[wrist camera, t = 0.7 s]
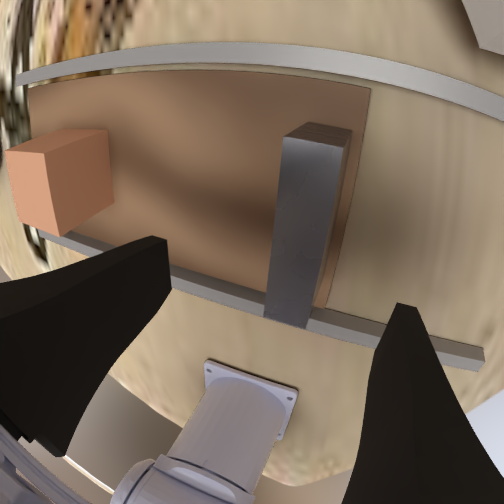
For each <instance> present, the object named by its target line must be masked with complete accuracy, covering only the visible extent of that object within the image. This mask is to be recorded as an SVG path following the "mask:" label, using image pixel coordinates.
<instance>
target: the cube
mask: <svg viewBox="0 0 504 504" xmlns="http://www.w3.org/2000/svg"><path fill="white" fill-rule="evenodd" d="M5 156H6V162H7V168H8V173H9V178H10V183H11V188H12V193H13V197H14V202H15V206H16V210H17V214H18V218H19V221H20V222H23V223H25V224H28V225H30V226H32V227H35V228H37V229H40V230H42V231H45V232H47V233H50V234H52V235H55V236H57V237H61V236H63V235H64V234H66V233H67V232H69V231H70V230H72V229H73V228H75V227H76V226H78V225H80V224H81V223H83V222H84V221H86V220H87V219H89V218H91V217H92V216H94V215H95V214H97V213H99V212H100V211H102V210H104V209H105V208H107V207H108V206H110V205H112V204H113V203H114V195H113V186H112V177H111V167H110V156H109V142H108V130H96V129H60V130H57V131H54V132H51V133H48V134H46V135H43V136H40V137H37V138H35V139H32V140H29V141H27V142H24V143H22V144H19V145H17V146H14V147H12V148H10V149H7V150H5Z"/></svg>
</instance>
